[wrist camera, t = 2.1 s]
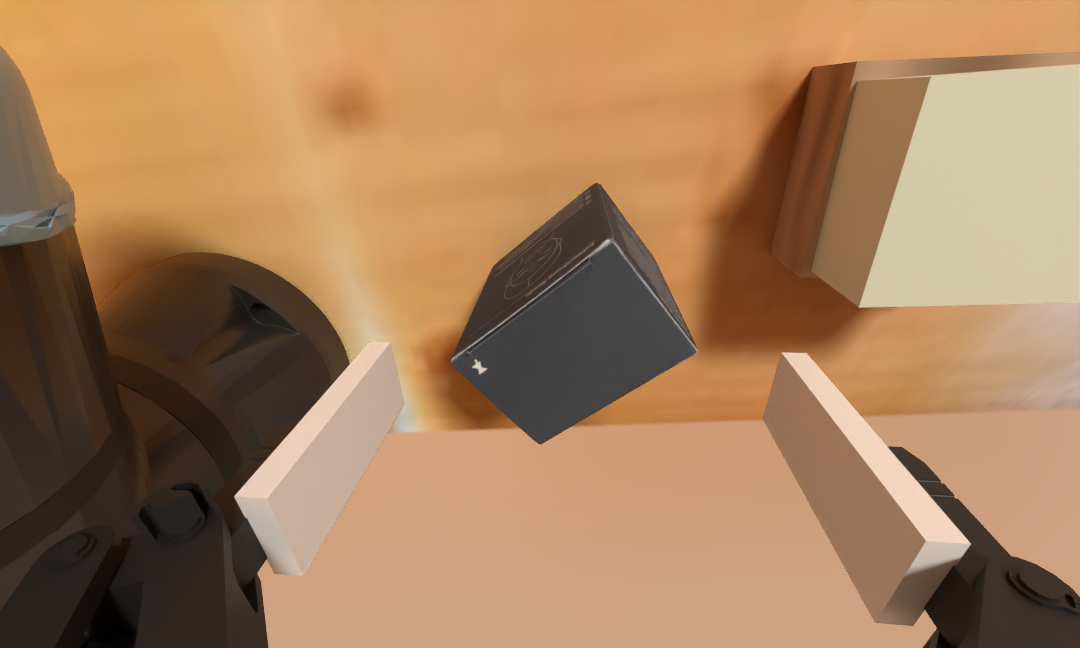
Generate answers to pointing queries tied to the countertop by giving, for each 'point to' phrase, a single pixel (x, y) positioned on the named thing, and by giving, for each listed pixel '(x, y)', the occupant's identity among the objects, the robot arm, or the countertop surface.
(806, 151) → the tower base
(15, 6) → the countertop surface
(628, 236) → the box
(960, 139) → the tower top
